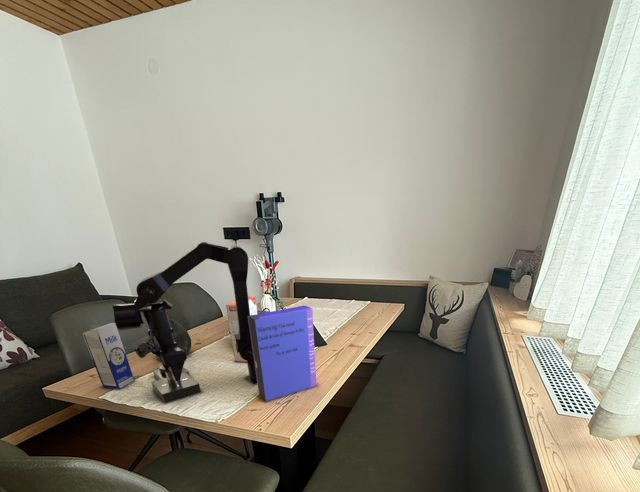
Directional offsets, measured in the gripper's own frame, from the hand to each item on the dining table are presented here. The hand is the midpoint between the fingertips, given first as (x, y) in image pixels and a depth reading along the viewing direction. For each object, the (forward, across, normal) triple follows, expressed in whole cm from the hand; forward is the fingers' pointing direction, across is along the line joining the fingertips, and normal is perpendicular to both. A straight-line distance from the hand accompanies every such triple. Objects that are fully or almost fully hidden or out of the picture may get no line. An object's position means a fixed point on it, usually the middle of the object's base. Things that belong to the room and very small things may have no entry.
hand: (173, 376), depth 109 cm
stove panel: (+5, 0, 0) cm, 5 cm away
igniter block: (+5, -13, +2) cm, 14 cm away
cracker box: (+5, -13, +32) cm, 35 cm away
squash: (+5, -34, +10) cm, 36 cm away
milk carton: (+5, -19, -13) cm, 24 cm away
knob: (+2, 0, 0) cm, 2 cm away
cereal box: (+5, +23, +26) cm, 36 cm away
